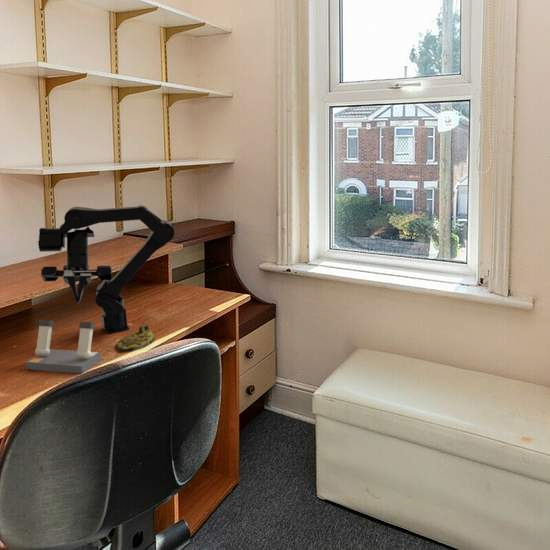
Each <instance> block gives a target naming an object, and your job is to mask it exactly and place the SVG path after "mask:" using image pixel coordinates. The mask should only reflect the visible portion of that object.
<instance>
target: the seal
mask: <svg viewBox="0 0 550 550" xmlns="http://www.w3.org/2000/svg"><path fill="white" fill-rule="evenodd" d="M153 342H155V333H153V332H152V331H151V329H150V325H149V324H148V322H143V323H142V324H141V325H139V328H138V331H137V332H133V333H130V334H129V335H126V336H125V337H122V338H121V339H119V340H117V342H116V350H118V352H134V351H138V350H141V349H144V348H146V347H148V346H151V344H153Z"/></svg>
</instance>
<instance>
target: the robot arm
mask: <svg viewBox="0 0 550 550" xmlns="http://www.w3.org/2000/svg"><path fill="white" fill-rule="evenodd" d="M126 221H128V222H129V221H140V222H142V223H143V224H144V225H145V226H146V227H147V228H148V229H149V230H151V232H150V233H149V235H148V236H147V238H146V241H144V243H143V244H142V246H140V248H139V249H138V250H137V251H136V252H135V253H134V254H133V255H132V257H131V258H130V259H129V260H128V261H127V262H126V263H125V265H124V266H123V267H122V268H121V269H120V270H119V271H118V272H117V274H115V275H114V276H113V275H112V273H113V272H112V267H111V265H97V266H96V269H90V268H89V267H90V266H89V251H88V250H89V249H88V248H89V247H88V246H89V245H88V243H89V242H88V240H89V238H94V237H95V236H96V235H95V232H94V230H92V229H91V228H90V226H95V225H97V224H100V223H101V224H103V223H115V222H126ZM82 228H83V229H82ZM71 230H74V231H71ZM174 237H175V229H174V227H173V225H172V223H171V222H170V221H168V220H162V218H160V217H159V216H157V215H156V214H154V213H153V212H152V211H151V210H149V209H148V207H147V206H145V205H141V204H140V205H138V206H128V207H126V206H125V207H124V206H123V207H114V208H112V207H111V208H100V209H99V208H98V209H97V208H92V207H84V206H72V207H71V208H69V209H68V210H67V212H66V213H65V214H64V222H63V223H62V224H61V225H59V227H55V228H52V227H51V228H49V227H40V228H39V234H38V240H37V243H38V244H37V245H38V250H39V252H43V253H44V252H62V249H63V248H66V264H65V265H63V267H62V269H59V270H58V268H57V266H43V267H42V268H41V270H40V272H41V274H40V277H41V279H42V281H43V282H46V283H49V282H57V280H59V278H62V279H63V282H64V284H67V285H68V286H69V287H70V289H71V291H72V294H73V297H74V300H75V303H76V304H79V303H80V302H81V299H82V297H83V293H84V290H85V289H86V286H87V285H88V284H91V283H92V277H97V278H98V279H99V280H100V281H102V282H101V283H100V284H98V285H97V287H96V294H95V300H94V301H95V304H96V305H97V306H98V307H99V308H101V309H102V315H101V326H102V329H104V331H105V332H107V334H112V333H117V332H118V333H119V332H123V331H127V330H130V326H129V325H128V319H127V309H126V308H125V307H124V297H122V295H121V293H122V291H123V289H124V287H125V286H126V284H128V282H130V280H132V278H133V277H134V276H135V275H136V274H137V272H138V271H139V270H141V268H142V267H143V266H144V265H145V263H146V262H147V261H148V260H149V259H150V258H151V257H152V256H153V254H154V253H155V252H157V251H158V250H160V249H161V248H163V247H164V246H166V245H167V244H168V243H169V242H171V241H172V240H173V238H174ZM76 282H78V289H77V283H76Z"/></svg>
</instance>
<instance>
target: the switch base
mask: <svg viewBox="0 0 550 550" xmlns="http://www.w3.org/2000/svg"><path fill="white" fill-rule="evenodd" d="M49 349H50V354H49V355H36V354H35V356H33V357H32V358H30V359H28V360H27V361H25V362H24V363H25V368H26V370H27V369H31V371H40V370H42V371H43V372H57V373H69V374H81V375H83V374H84V373H85V372H87V371H88V370H90V369H91V368H92V367H93V366H95V365H96V364H97V363H99V362H100V361H101V360H102V355H101V352H98V351H97V352H96V351H90V352H91V357H90V358H77V357H76V352H77V351H78V350H69V349H67V350H65V349H64V350H63V349H51V348H49ZM42 371H41V372H42ZM82 373H83V374H82Z"/></svg>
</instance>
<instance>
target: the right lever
mask: <svg viewBox="0 0 550 550" xmlns="http://www.w3.org/2000/svg"><path fill="white" fill-rule="evenodd" d="M95 323H96V322H93V321H92V322H91V321H90V322H88V321H80V322H79V326H78V327H79V328H78V329H79V334H78V335H79V336H78V344H77V350H76V351H77V352H76V357H77V358H90V357H91V352H92V351H91V350H92V349H91V348H92V340H93V333H94V329H95V325H96V324H95Z"/></svg>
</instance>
